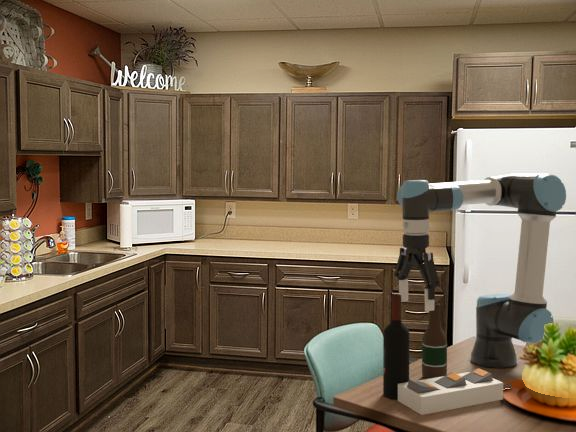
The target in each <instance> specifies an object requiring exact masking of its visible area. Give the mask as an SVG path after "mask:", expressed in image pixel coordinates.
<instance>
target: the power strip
mask: <svg viewBox="0 0 576 432" xmlns="http://www.w3.org/2000/svg"><path fill="white" fill-rule="evenodd" d="M470 372H471V371H469V372H468V371H467V372H461V373H456V374H457V375H459V376H461V377H462V376H464V375H466V374H468V373H470ZM442 377H444V376H442ZM442 377H436V378H430V379H425V378H424V379H420V380H417V381H420V382H426V383H429V384H431V385H433V386H435V387H437V389H439V390H437V391H431V392H425V393H418V392H416V391H414V390H412V389H410V388H408V387H407V385H408V382H406V383H400V384H398V400H397V402H399V403H400V404H401V405H402V404H403V405H404V406H405V407H408V408H409V409H411V411H412V410H413V411H414V412H416V413H417V414H419V415H421V416H424V415H431V414H434V413H441V412H446V411H450V410H455V409H461V408H465V407H472V406H477V405H482V404H488V403H491V402H492V403H493V402H498V401H502V400H504V391H503V389H505V388H511V387H512V388H513V386H512V384H506V385H505V384H504V382H502V381H500V380H498V379H496V378H493V377H492V378H493V381H488V382H482V383H476V384H474V383H471V382H469V381H467V380H465V381H466V385H465V386H459V387H454V388H448V389H447V388H445V387H443V386H441V385H439V384H437V383H435V381H437V380H439V379H440V378H442Z"/></svg>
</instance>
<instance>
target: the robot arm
mask: <svg viewBox="0 0 576 432" xmlns="http://www.w3.org/2000/svg"><path fill="white" fill-rule="evenodd" d="M396 198H397V201H398V204H399V205H400V206H401V208H402V233H403V235H402V247H400V248H399V255H398V258H397V263H396V265H395V266H396V267H395V270H394V274H393V275H394V277H396V278H397V280H398V295H401V303H402V302H409V276H408V275H409V274H410V273H411V270H412V268H413V266H414V267H416V269H418V271H419V273H420V275H421V277H422V280H423V282H424V283H425V284H424V285H425V287H424V311H425V312H429V311H433V310H434V302H435V298H436V291H435V290H436V288H438V287H439V288H440V285H441V284H440V283H441V282H440V279H439V276H438V273H437V268H436V264H435V262H434V253H433V252H427V251H426V248H429V246H430V235H429V234H428V233H429V232H430V219H429V218H430V213H432V212H434V213H435V212H452V211H456V210H459V209H460V208H461V207H462V205H463V206H464V205H465V206H466V205H478V204H486V205H487V206H489V207H491V206H500V207H507V208H514V209H517V215H518V217H520V219H521V223H520V236H519V245H518V254H517V264H516V267H517V268H516V274H515V286H514V292H513V294H506V293H497V294H484V295H481V296H479V297H478V298H477V299H476V307H475V310H476V311H475V312H476V313H475V319H476V320H475V322H476V323H475V326H476V328H475V329H476V330H475V331H476V332H475V335H476V337H475V341H474V344H473V347H472V351H471V352H470V362H472V363H473V364H475V365H478V366H481V367H486V368H495V369H498V368H499V369H503V368H504V369H505V368H510V367H514V366H516V365H517V363H518V356H517V354H516V350H515V346H514V344H513V339H516V340H519V341H521V342H523V343H529V344H533V343H535V344H538V343H537V342H538V341H540V340H543V334H544V325H545V324H548V323H553V324H554V316H553V315H552V312H551V311H550V310H549V309H547V307H548V305H547V304H548V302H547V300H546V299H545V298H544V296H543V294H544V288H545V287H544V286H545V285H544V284H545V276H546V266H547V265H546V264H547V255H548V247H549V238H550V227H551V222H552V221H554V219H555V218H556V217H557V212H558V211H561V210H562V208H563V207H564V205H565V203H566V200H567V191H566V187H565V185H564V183H563V182H562V180H561V179H560V178H559V177H558V176H556V175H555V174H550V173H543V172H542V173H541V172H540V173H522V172H519V173H510V174H509V173H508V174H504V175H497V176H489V177H486V178H484V179H482V180H467V181H465V180H463V181H449V182H448V181H447V182H434V183H429V181H428V180H426V179H413V180H412V179H409V180H405V181H403V183H402V185H401V186H400V187H399V188H398V190H397V192H396ZM543 341H544V340H543Z"/></svg>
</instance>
